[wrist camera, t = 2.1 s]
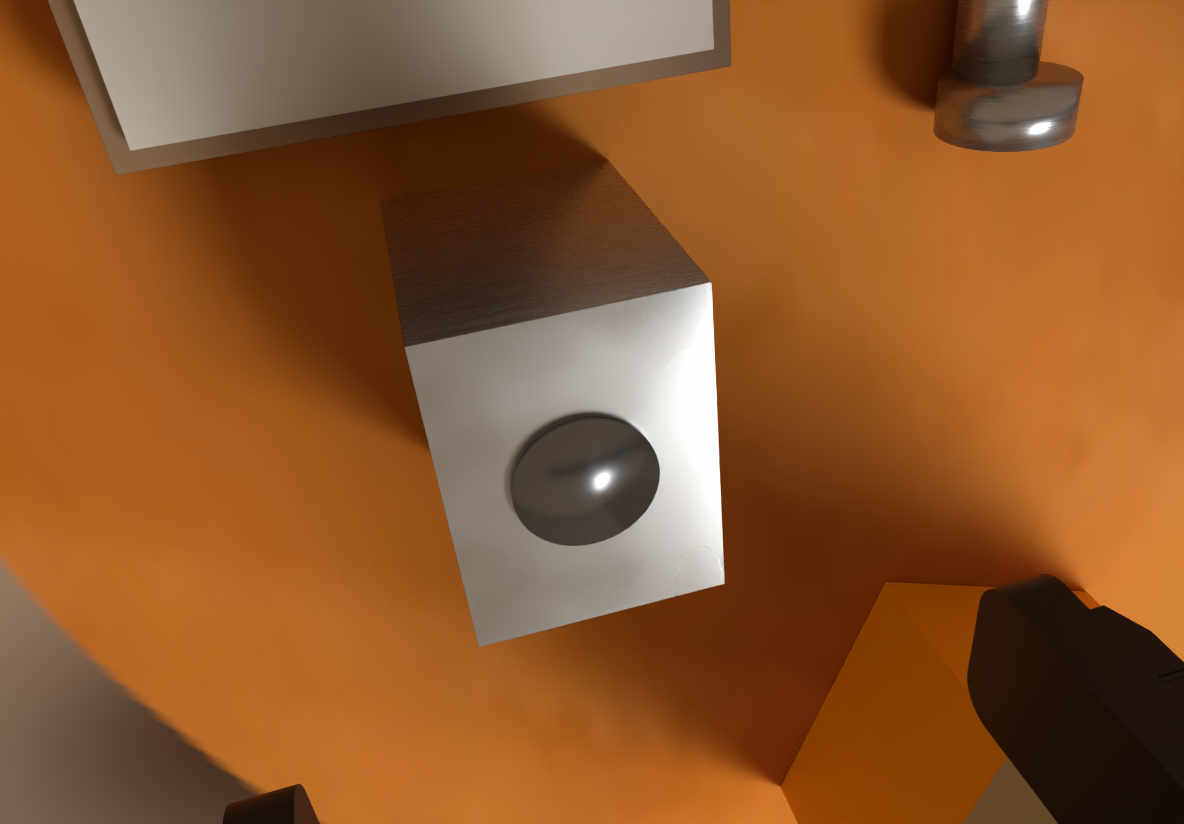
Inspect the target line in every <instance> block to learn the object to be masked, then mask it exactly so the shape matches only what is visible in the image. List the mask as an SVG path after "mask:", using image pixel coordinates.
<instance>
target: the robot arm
mask: <svg viewBox="0 0 1184 824" xmlns="http://www.w3.org/2000/svg"><path fill="white" fill-rule="evenodd" d="M967 684H968V690H969V694H970V698H971V701H972V704H973V706H974V709H975V711H976V713H977V715H978V717H979V719H980V720H981V722H982V724H983V725H984V727H985V728H986V729H987V731H988V732H989V733H990V735H991V736H992V737H993V739H994V740H995V741H996V743H997V744H998V745H999V747H1000V748H1001V749H1002V751H1003V752H1004V753H1005V754H1006V756H1007V757H1008V758H1009V760H1010V761H1011V762H1012V764H1013V765H1014V766H1015V768H1016V769H1017V770H1018V772H1019V773H1020V774H1021V776H1022V777H1023V778H1024V780H1025V781H1026V782H1027V783H1028V785H1029V786H1030V787H1031V789H1032V790H1033V791H1034V793H1035V794H1036V795H1037V797H1038V798H1039V799H1040V801H1041V802H1042V803H1043V805H1044V806H1045V807H1046V808H1047V810H1048V811H1049V812H1050V814H1051V815H1052V816H1053V818H1054V819H1055V820H1056V822H1057V823H1058V824H1184V662H1183V661H1182V660H1181V659H1180V658H1179V657H1178V656H1177V655H1176V654H1174V653H1173V652H1172V651H1171V650H1170V649H1169V648H1168V647H1167V646H1166V645H1165V644H1164V643H1163V642H1162V641H1161V640H1160V639H1159V638H1158V637H1157V636H1156V635H1155V634H1153V633H1152V632H1151V631H1150V630H1148V629H1146V628H1144V627H1142V626H1141V625H1139V624H1137V623H1135V622H1133V621H1131V620H1130V619H1128V618H1126V617H1124V616H1122V615H1121V614H1119V613H1117V612H1115V611H1113V610H1111V609H1110V608H1108V607H1106V606H1104V605H1103V606H1100V607H1096V608H1093V609H1089V608H1088V607H1087V606H1086V605H1085V604H1084V603H1083V602H1082V601H1081V600H1080V599H1079V598H1078V597H1077V596H1076V595H1075V594H1074V593H1073V592H1072V591H1071V590H1070V589H1069V588H1068V587H1067V586H1066V585H1065V584H1064V583H1063V582H1061V581H1060V580H1059V579H1057V578H1056V577H1054V576H1051V575H1048V574H1041V575H1038V576H1034V577H1031V578H1027V579H1024V580H1020V581H1017V582H1013V583H1010V584H1006V585H1003V586H999V587H996V588H992V589H989V590H987V591H985V592H984V593H983V594H982V596H981V598H980V602H979V608H978V613H977V619H976V625H975V631H974V637H973V643H972V648H971V654H970V660H969V666H968V672H967ZM223 824H320V823H319V821H318V819H317V816H316V814H315V812H314V810H313V807H312V805H311V803H310V800H309V798H308V796H307V793H306V791H305V789H304V788H303V786H302V785H301V784H296V785H293V786H289V787H286V788H282V789H279V790H275V791H272V792H268V793H265V794H261V795H258V796H254V797H251V798H248V799H244V800H240V801H237V802H233V803H230V804H229V805H228V806H227V807H226V810H225V813H224V818H223Z"/></svg>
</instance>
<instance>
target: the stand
mask: <svg viewBox="0 0 1184 824" xmlns="http://www.w3.org/2000/svg"><path fill="white" fill-rule="evenodd" d="M48 3H49V5H50V8H51V10H52V13H53V16H54V18H55V21H56V23H57V26H58V28H59V31H60V33H61V36H62V39H63V41H64V44H65V46H66V49H67V51H68V54H69V56H70V59H71V62H72V64H73V67H74V69H75V72H76V74H77V77H78V79H79V82H80V84H81V87H82V90H83V92H84V95H85V97H86V100H87V102H88V105H89V107H90V110H91V113H92V115H93V118H94V120H95V123H96V125H97V128H98V130H99V133H100V136H101V138H102V141H103V143H104V146H105V148H106V151H107V153H108V156H109V159H110V161H111V164H112V166H113V169H114V171H115V174H116V175H120V174H125V173H131V172H137V171H142V170H148V169H154V168H159V167H165V166H171V165H176V164H182V163H188V162H193V161H199V160H204V159H210V158H216V157H221V156H227V155H233V154H238V153H244V152H250V151H255V150H261V149H267V148H272V147H278V146H284V145H289V144H295V143H300V142H306V141H312V140H317V139H323V138H329V137H334V136H340V135H346V134H351V133H357V132H363V131H368V130H374V129H379V128H385V127H391V126H396V125H402V124H408V123H413V122H419V121H425V120H430V119H436V118H442V117H447V116H453V115H459V114H464V113H470V112H475V111H481V110H487V109H492V108H498V107H504V106H509V105H515V104H521V103H526V102H532V101H538V100H543V99H549V98H554V97H560V96H566V95H571V94H577V93H583V92H588V91H594V90H600V89H605V88H611V87H617V86H622V85H628V84H633V83H639V82H645V81H650V80H656V79H662V78H667V77H673V76H679V75H684V74H690V73H696V72H701V71H707V70H713V69H718V68H724V67H729V66H731V42H730V2H729V0H48Z"/></svg>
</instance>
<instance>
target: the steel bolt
mask: <svg viewBox="0 0 1184 824" xmlns="http://www.w3.org/2000/svg"><path fill="white" fill-rule="evenodd" d="M1048 1H1049V0H958V6H957V16H956V26H955V37H954V47H953V57H952V68H951V69H950V70H948V71H946V72H944V73H942V74H941V75H940V76H939V78H938V84H937V96H936V107H935V118H934V129H933V131H934V134H935V136H936V137H938V138H939V139H940V140H942V141H944V142H946V143H948V144H951V145H954V146H958V147H962V148H967V149H973V150H980V151H993V152H1017V151H1029V150H1036V149H1042V148H1047V147H1051V146H1054V145H1058V144H1060V143H1063V142H1065V141H1066V140H1068V139H1070V138H1071V137H1072V136H1073V134H1074V132H1075V126H1076V120H1077V114H1078V109H1079V103H1080V97H1081V91H1082V85H1083V79H1084V78H1083V75H1082V74H1081V73H1080V72H1079V71H1077V70H1075V69H1073V68H1070V67H1068V66H1064V65H1060V64H1055V63H1049V62H1042V61H1040V56H1041V49H1042V42H1043V35H1044V28H1045V22H1046V15H1047V8H1048Z"/></svg>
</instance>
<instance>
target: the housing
mask: <svg viewBox="0 0 1184 824" xmlns="http://www.w3.org/2000/svg"><path fill="white" fill-rule="evenodd" d="M380 206H381V212H382V218H383V223H384V229H385V235H386V241H387V247H388V253H389V259H390V264H391V270H392V276H393V282H394V288H395V294H396V300H397V306H398V311H399V317H400V323H401V329H402V335H403V341H404V347H405V351H406V355H407V359H408V363H409V367H410V371H411V375H412V379H413V383H414V387H415V391H416V395H417V399H418V403H419V407H420V411H421V415H422V420H423V424H424V428H425V432H426V436H427V440H428V444H429V448H430V452H431V456H432V460H433V464H434V468H435V472H436V476H437V480H438V484H439V488H440V492H441V496H442V500H443V504H444V508H445V512H446V516H447V520H448V524H449V529H450V533H451V537H452V541H453V545H454V549H455V553H456V557H457V561H458V565H459V569H460V573H461V577H462V581H463V585H464V589H465V593H466V597H467V601H468V605H469V609H470V613H471V617H472V621H473V625H474V629H475V634H476V638H477V642H478V646H479V647H482V646H486V645H490V644H494V643H498V642H501V641H505V640H509V639H513V638H517V637H521V636H525V635H528V634H532V633H536V632H540V631H544V630H548V629H552V628H555V627H559V626H563V625H567V624H571V623H575V622H579V621H582V620H586V619H590V618H594V617H598V616H602V615H606V614H609V613H613V612H617V611H621V610H625V609H629V608H633V607H636V606H640V605H644V604H648V603H652V602H656V601H660V600H663V599H667V598H671V597H675V596H679V595H683V594H687V593H690V592H694V591H698V590H702V589H706V588H710V587H714V586H718V585H721V584H725V581H724V558H723V535H722V512H721V489H720V466H719V443H718V420H717V397H716V374H715V352H714V329H713V306H712V283H711V281H710V280H709V279H708V278H707V277H706V275H705V274H704V273H703V272H702V271H701V269H700V268H699V267H698V266H697V265H696V263H695V262H694V261H693V260H692V259H691V258H690V256H689V255H688V254H687V253H686V252H685V250H684V249H683V248H682V247H681V246H680V245H679V243H678V242H677V241H676V240H675V239H674V237H673V236H672V235H671V234H670V233H669V232H668V230H667V229H666V228H665V227H664V226H663V224H662V223H661V222H660V221H659V220H658V218H657V217H656V216H655V215H654V214H653V213H652V211H651V210H650V209H649V208H648V207H647V205H646V204H645V203H644V202H643V201H642V200H641V198H640V197H639V196H638V195H637V194H636V192H635V191H634V190H633V189H632V188H631V187H630V185H629V184H628V183H627V182H626V181H625V179H624V178H623V177H622V176H621V175H620V173H619V172H618V171H617V170H616V169H615V168H614V166H613V165H612V164H611V163H610V162H609V160H607V161H602V162H596V163H591V164H586V165H581V166H575V167H570V168H565V169H560V170H554V171H549V172H544V173H539V174H533V175H528V176H523V177H518V178H512V179H507V180H502V181H497V182H491V183H486V184H481V185H475V186H470V187H465V188H460V189H454V190H449V191H444V192H439V193H433V194H428V195H423V196H418V197H412V198H407V199H402V200H397V201H391V202H386V203H381V204H380Z"/></svg>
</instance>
